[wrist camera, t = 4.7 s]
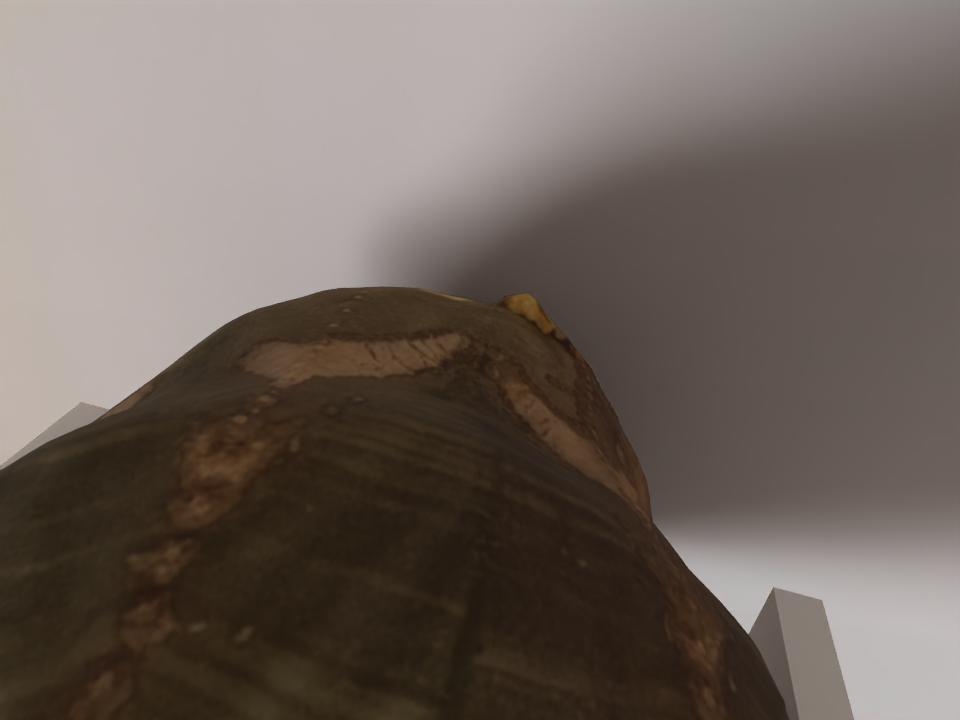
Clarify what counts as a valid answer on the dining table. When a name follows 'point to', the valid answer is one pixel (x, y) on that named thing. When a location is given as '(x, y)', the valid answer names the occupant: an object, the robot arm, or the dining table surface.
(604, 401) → the ribbed globe cactus
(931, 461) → the dining table surface
